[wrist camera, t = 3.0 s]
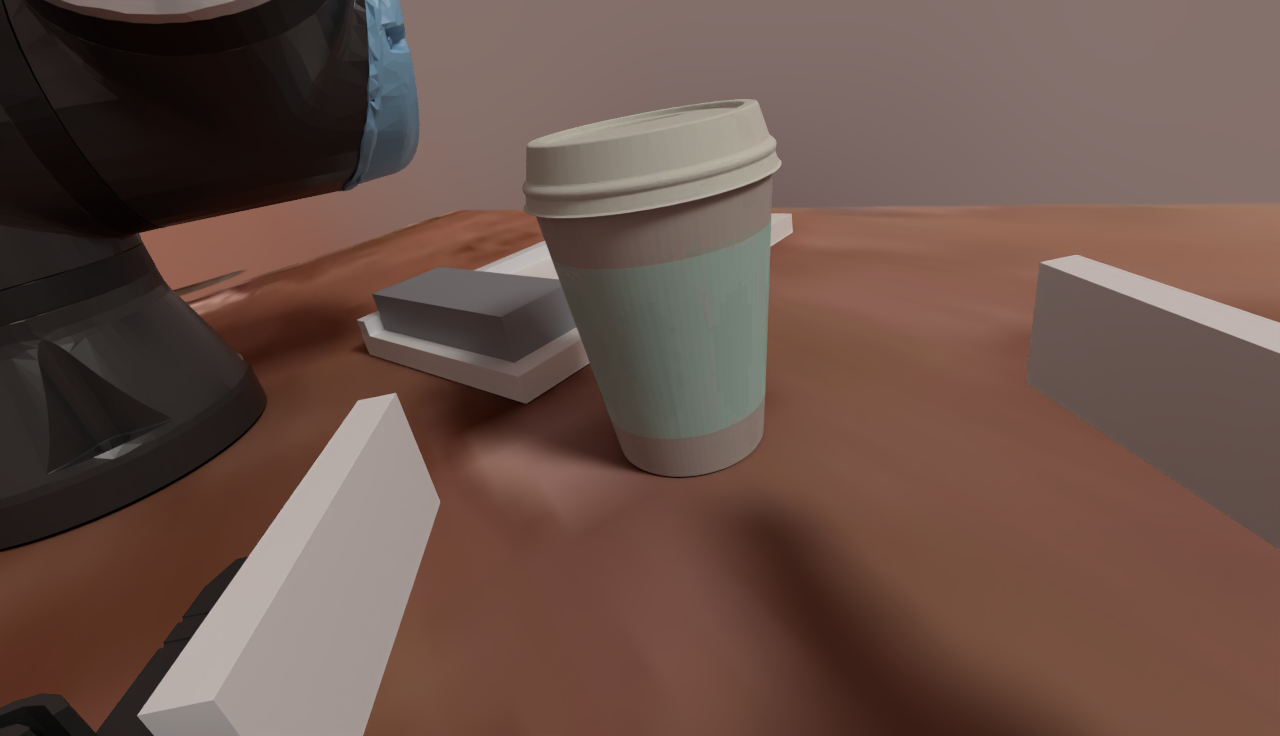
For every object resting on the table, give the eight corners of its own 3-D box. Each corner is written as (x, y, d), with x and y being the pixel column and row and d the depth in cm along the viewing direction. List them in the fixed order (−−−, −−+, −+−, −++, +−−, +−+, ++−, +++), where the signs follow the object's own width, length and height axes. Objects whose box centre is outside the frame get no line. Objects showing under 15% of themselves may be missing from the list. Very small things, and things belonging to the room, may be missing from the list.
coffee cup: (795, 376, 27) (776, 87, 22) (804, 502, 20) (777, 111, 14) (614, 387, 29) (557, 126, 24) (561, 504, 22) (461, 164, 17)
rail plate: (526, 403, 29) (503, 329, 28) (369, 354, 39) (345, 297, 38) (792, 232, 47) (789, 180, 46) (638, 228, 57) (630, 186, 56)
